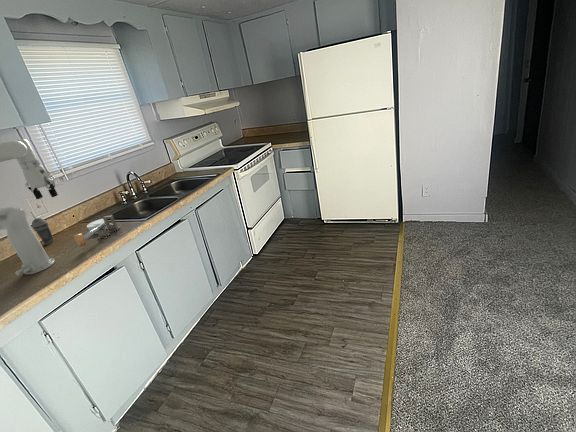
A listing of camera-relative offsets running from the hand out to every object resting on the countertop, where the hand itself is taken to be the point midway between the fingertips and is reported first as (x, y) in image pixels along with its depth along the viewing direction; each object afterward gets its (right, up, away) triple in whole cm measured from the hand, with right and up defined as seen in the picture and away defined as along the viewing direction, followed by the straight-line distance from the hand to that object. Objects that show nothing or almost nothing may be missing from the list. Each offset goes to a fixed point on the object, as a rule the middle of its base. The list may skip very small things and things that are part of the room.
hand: (47, 197), depth 157 cm
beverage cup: (-15, -25, +20) cm, 36 cm away
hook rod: (+20, -21, +7) cm, 30 cm away
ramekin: (+12, -18, +25) cm, 33 cm away
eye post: (+23, -18, +20) cm, 35 cm away
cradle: (+22, -21, +13) cm, 33 cm away
